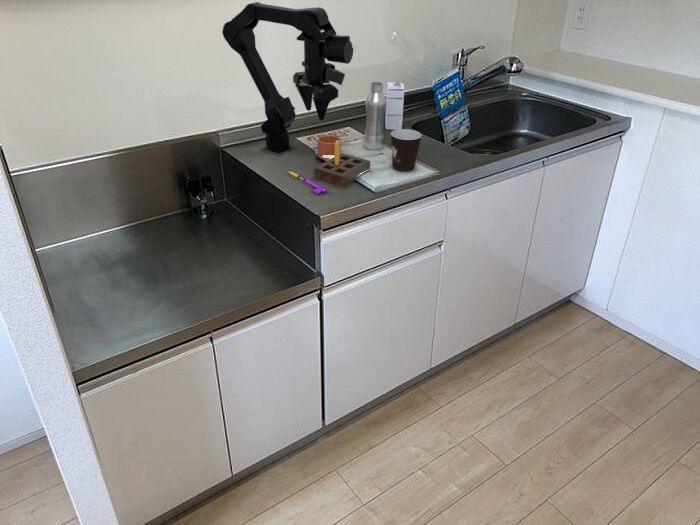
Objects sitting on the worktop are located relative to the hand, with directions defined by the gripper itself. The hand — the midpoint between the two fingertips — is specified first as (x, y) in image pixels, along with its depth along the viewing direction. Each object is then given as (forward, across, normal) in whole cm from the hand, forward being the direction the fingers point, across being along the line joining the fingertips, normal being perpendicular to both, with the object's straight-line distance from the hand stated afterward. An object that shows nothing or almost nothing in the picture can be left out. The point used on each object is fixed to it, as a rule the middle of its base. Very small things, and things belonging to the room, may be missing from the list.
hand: (315, 115), depth 161 cm
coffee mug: (+13, -15, -22) cm, 29 cm away
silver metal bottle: (+13, 0, -20) cm, 24 cm away
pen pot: (+13, -1, -4) cm, 14 cm away
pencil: (+13, -13, -1) cm, 19 cm away
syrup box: (+13, +15, -35) cm, 41 cm away
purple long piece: (+13, -16, +10) cm, 23 cm away
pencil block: (+13, -15, -2) cm, 20 cm away
